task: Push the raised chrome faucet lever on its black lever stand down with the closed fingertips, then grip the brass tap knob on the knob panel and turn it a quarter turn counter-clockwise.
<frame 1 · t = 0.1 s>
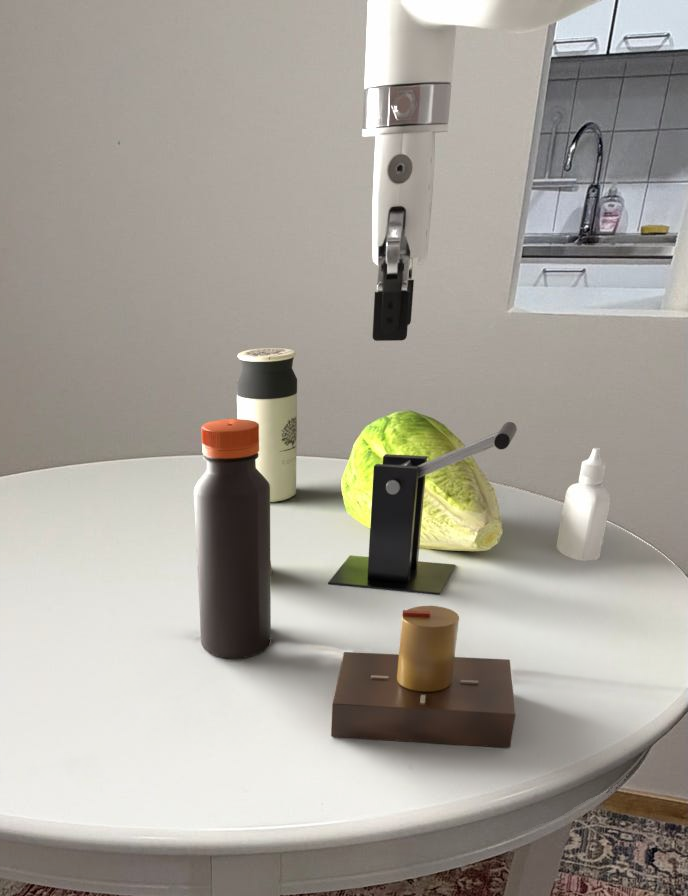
hand: (392, 332, 94), 24 cm above the table, tool pointing down, fingers open, 9 cm apart
faucet lever: (447, 459, 95), point 13 cm above the table, hinge at 25.0°
tap knob: (427, 646, 76), point 6 cm above the table, hinge at 0.0°
vinegar: (236, 647, 93), on the table
black lever stand: (391, 583, 104), on the table
knob panel: (420, 713, 80), on the table
lettuce: (423, 544, 115), on the table
cork: (246, 584, 107), on the table
travel mug: (267, 496, 134), on the table
eye dropper bottle: (575, 562, 107), on the table
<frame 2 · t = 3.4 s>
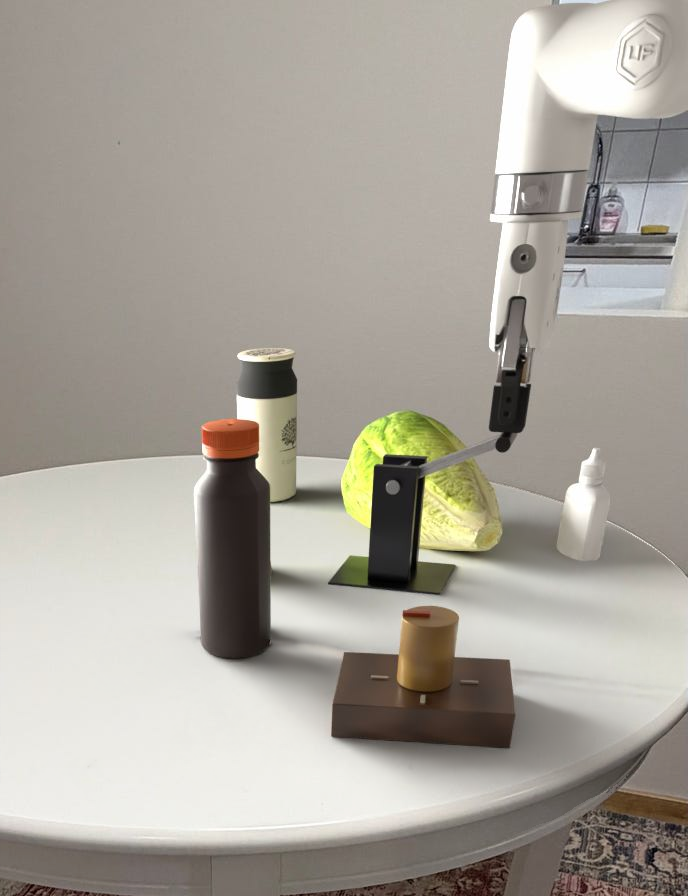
hand: (506, 430, 91), 16 cm above the table, tool pointing down, fingers closed
faucet lever: (448, 460, 95), point 13 cm above the table, hinge at 23.3°
everything else where it was.
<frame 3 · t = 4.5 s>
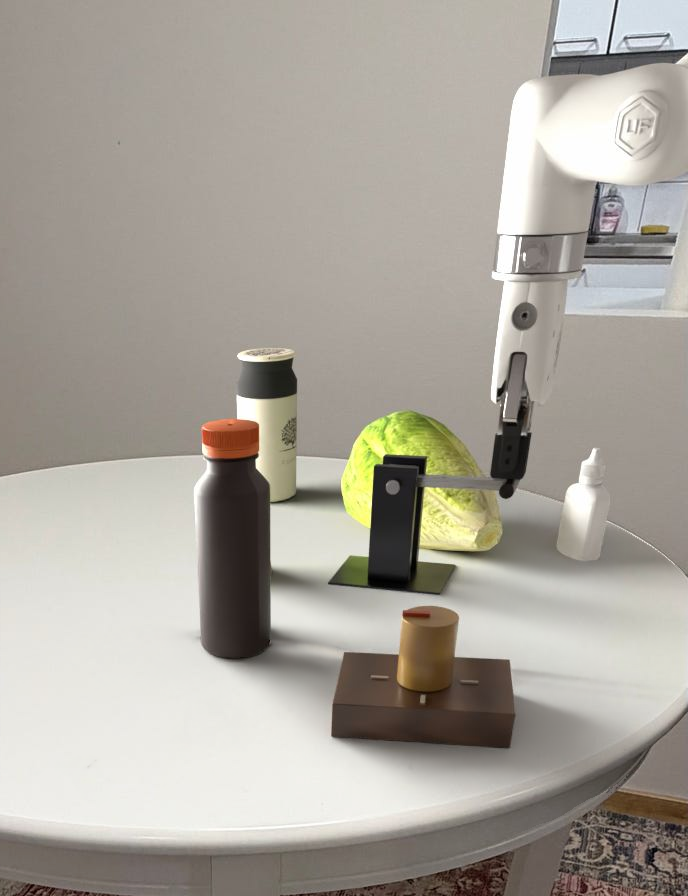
hand: (507, 476, 94), 12 cm above the table, tool pointing down, fingers closed
faucet lever: (450, 481, 96), point 11 cm above the table, hinge at 0.6°, touching gripper
everything else where it was.
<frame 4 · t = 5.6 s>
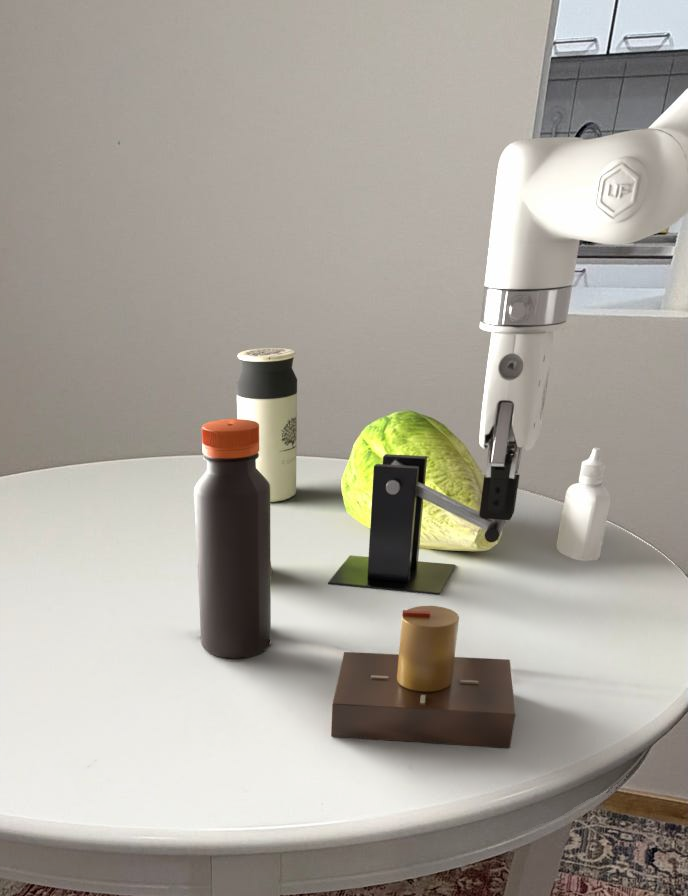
hand: (496, 516, 96), 8 cm above the table, tool pointing down, fingers closed
faucet lever: (444, 502, 97), point 9 cm above the table, hinge at -22.2°, touching gripper
everything else where it was.
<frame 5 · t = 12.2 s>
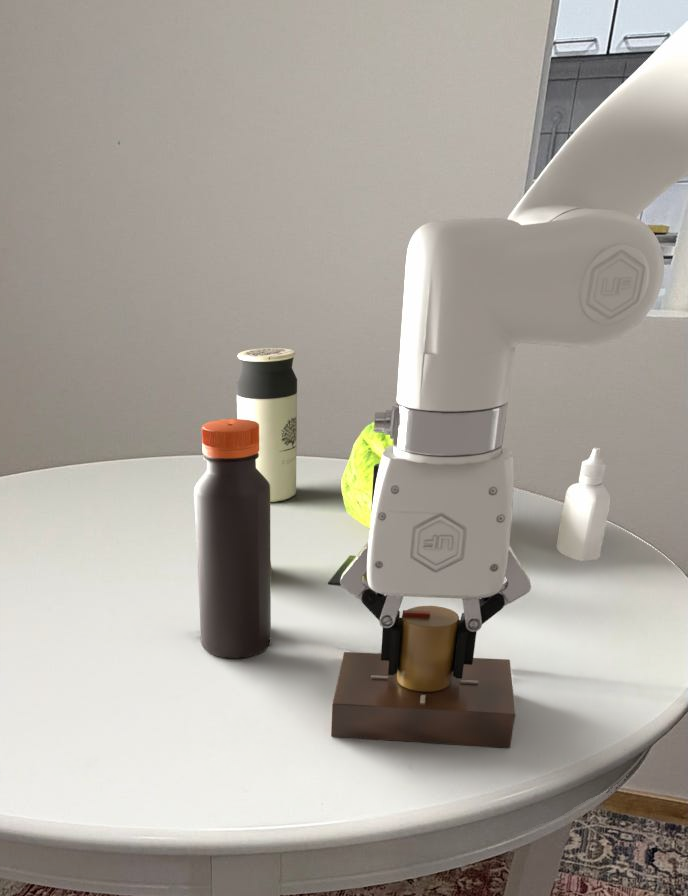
hand: (425, 667, 77), 4 cm above the table, tool pointing down, fingers closed on tap knob, 4 cm apart
faucet lever: (444, 502, 97), point 9 cm above the table, hinge at -22.6°
tap knob: (427, 646, 76), point 6 cm above the table, hinge at -0.1°, touching gripper
everything else where it was.
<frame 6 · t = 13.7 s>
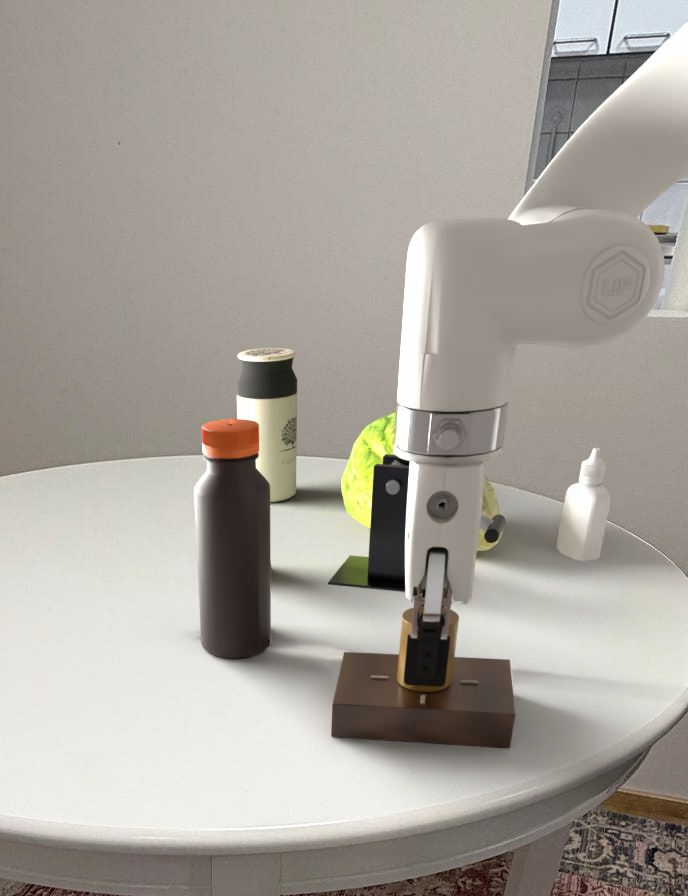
hand: (425, 667, 77), 4 cm above the table, tool pointing down, fingers closed on tap knob, 4 cm apart
tap knob: (427, 646, 76), point 6 cm above the table, hinge at 90.5°, touching gripper
everything else where it was.
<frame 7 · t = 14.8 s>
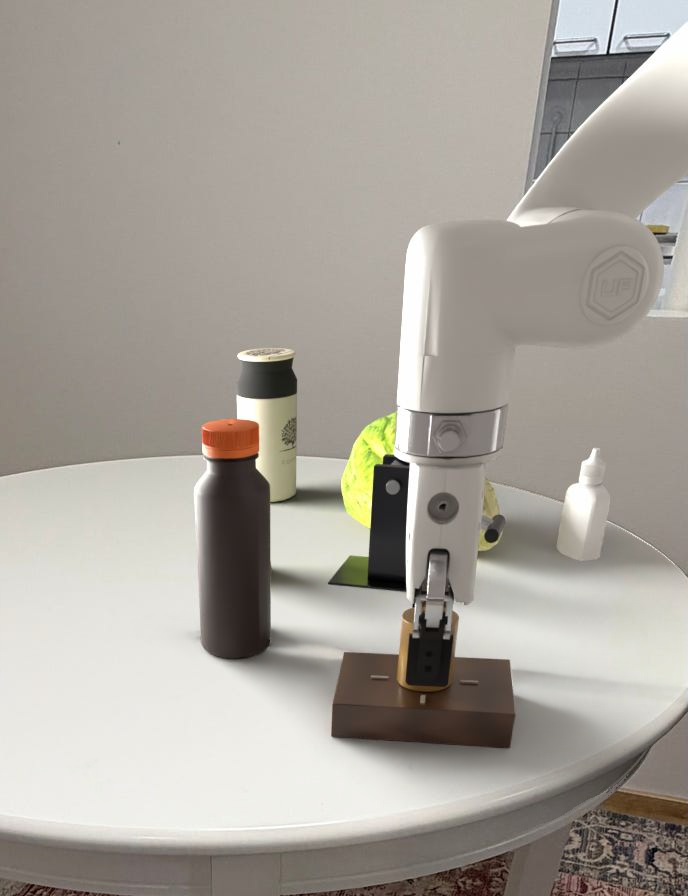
hand: (428, 657, 77), 5 cm above the table, tool pointing down, fingers open, 9 cm apart
tap knob: (427, 646, 76), point 6 cm above the table, hinge at 92.2°
everything else where it was.
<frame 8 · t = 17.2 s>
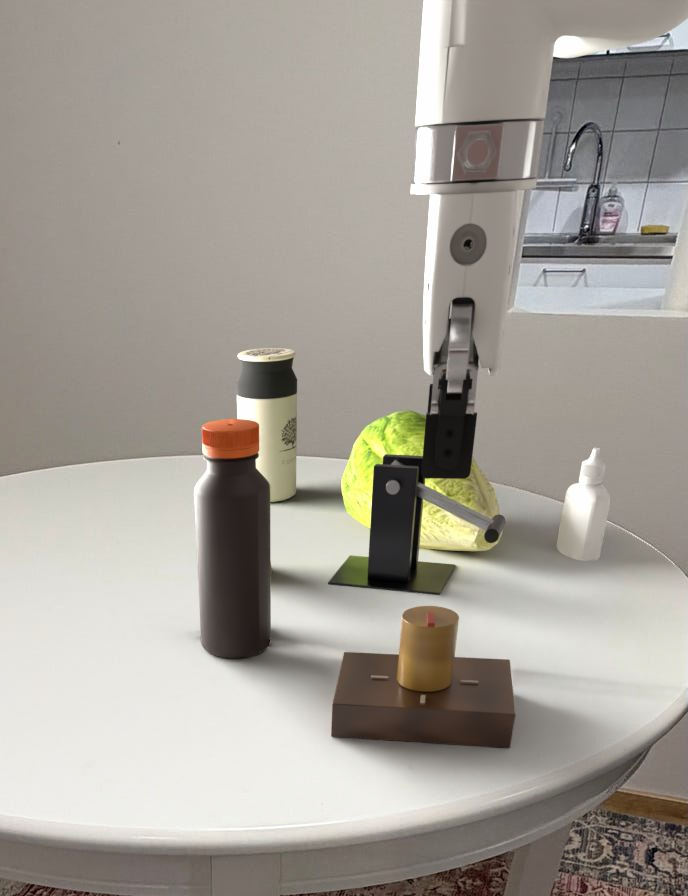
hand: (445, 458, 68), 20 cm above the table, tool pointing down, fingers open, 9 cm apart
nothing on the table moved.
at the end: faucet lever at -23° (first picture: +25°); tap knob at +92° (first picture: +0°) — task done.
